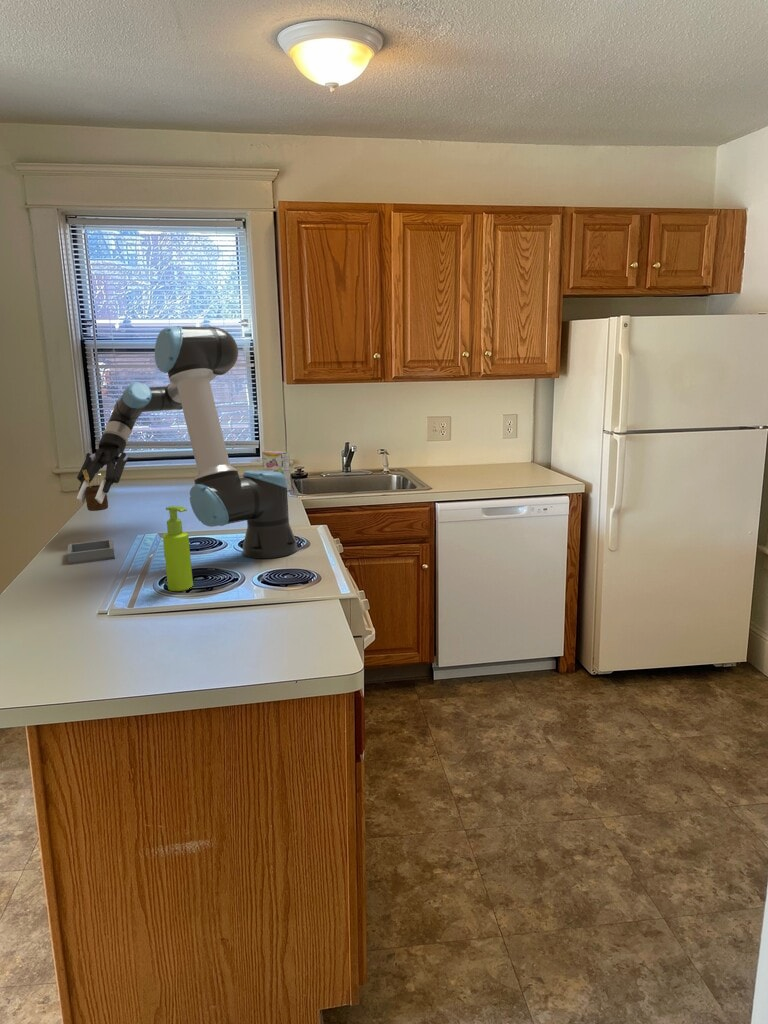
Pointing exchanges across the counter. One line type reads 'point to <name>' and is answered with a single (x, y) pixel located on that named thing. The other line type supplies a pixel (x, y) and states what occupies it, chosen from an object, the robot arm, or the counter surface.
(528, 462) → the counter surface
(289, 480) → the candy bar box
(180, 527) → the soap dispenser
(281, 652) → the counter surface
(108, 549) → the tray
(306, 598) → the counter surface
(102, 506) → the utensil holder
